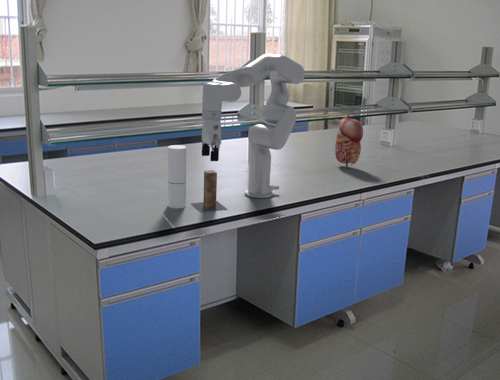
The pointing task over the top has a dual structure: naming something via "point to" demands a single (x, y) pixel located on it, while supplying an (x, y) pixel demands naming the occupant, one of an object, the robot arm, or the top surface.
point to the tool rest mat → (202, 209)
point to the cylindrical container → (176, 176)
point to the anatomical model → (348, 140)
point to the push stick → (210, 189)
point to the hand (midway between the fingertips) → (209, 158)
